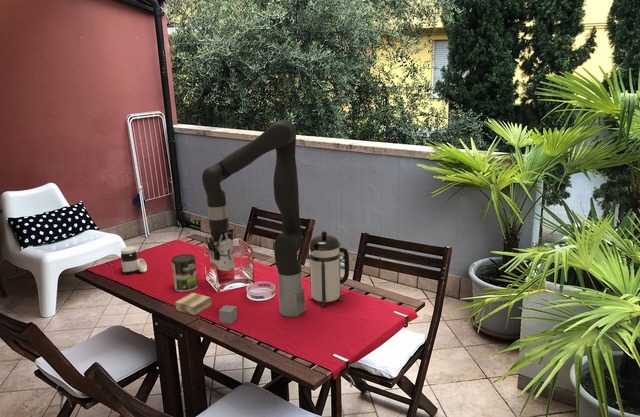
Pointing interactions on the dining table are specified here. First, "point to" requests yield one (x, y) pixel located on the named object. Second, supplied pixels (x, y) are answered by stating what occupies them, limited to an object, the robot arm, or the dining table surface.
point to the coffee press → (326, 268)
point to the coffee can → (184, 272)
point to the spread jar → (132, 261)
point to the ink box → (223, 256)
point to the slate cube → (228, 314)
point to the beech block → (193, 303)
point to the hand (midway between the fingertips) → (222, 257)
